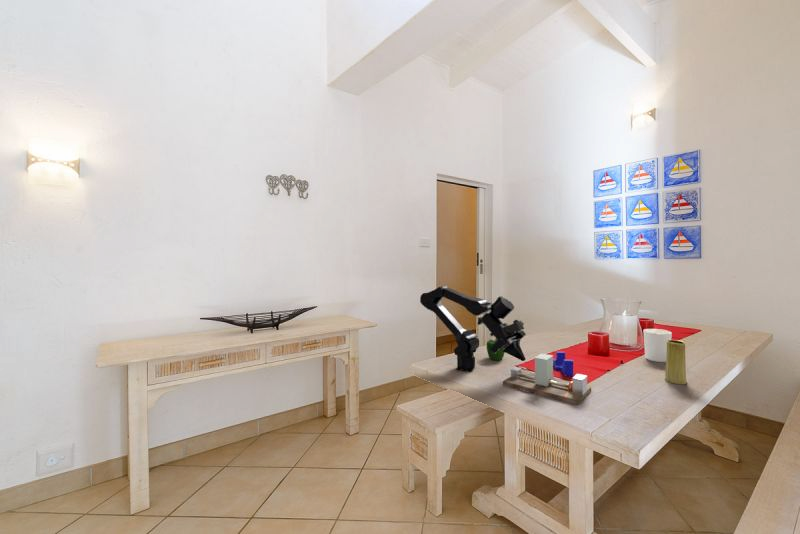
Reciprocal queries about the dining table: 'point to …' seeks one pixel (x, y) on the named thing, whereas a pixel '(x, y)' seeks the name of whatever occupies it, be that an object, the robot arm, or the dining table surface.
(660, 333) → the white cylinder
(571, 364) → the blue stepped block
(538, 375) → the notched sage block
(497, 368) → the dining table surface
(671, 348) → the vase
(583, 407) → the dining table surface
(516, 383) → the cord board
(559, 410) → the dining table surface
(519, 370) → the rod with end blocks
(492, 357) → the bell pepper
